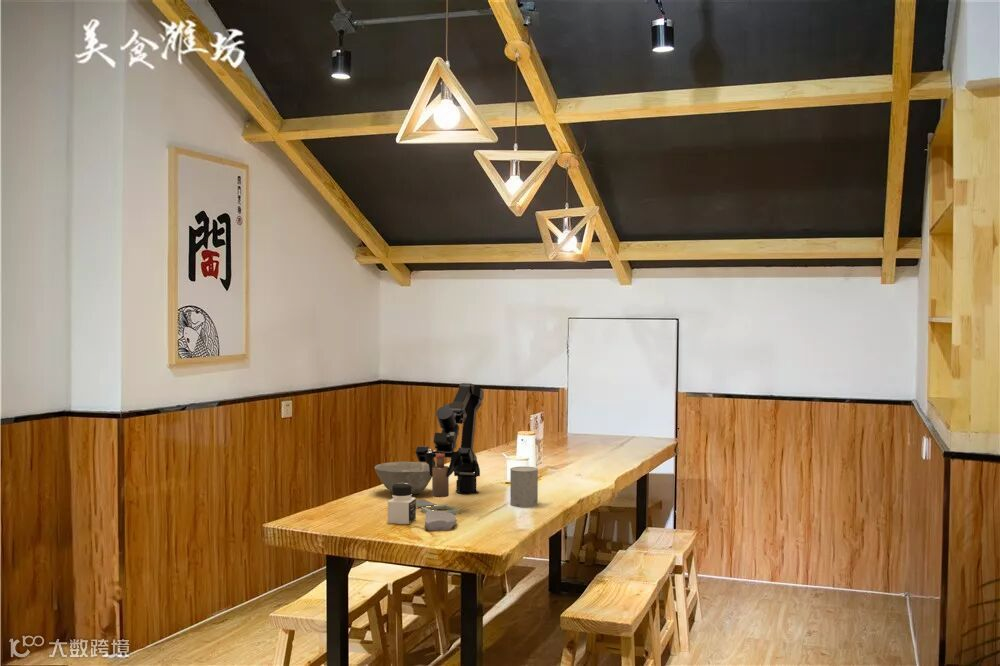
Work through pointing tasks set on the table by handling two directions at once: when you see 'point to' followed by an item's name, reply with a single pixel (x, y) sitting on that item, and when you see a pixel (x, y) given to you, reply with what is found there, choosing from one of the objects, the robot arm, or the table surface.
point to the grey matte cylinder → (523, 486)
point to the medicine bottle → (401, 505)
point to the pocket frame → (450, 508)
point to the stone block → (439, 521)
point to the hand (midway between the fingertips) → (439, 475)
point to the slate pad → (424, 503)
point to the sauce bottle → (440, 478)
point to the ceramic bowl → (404, 474)
